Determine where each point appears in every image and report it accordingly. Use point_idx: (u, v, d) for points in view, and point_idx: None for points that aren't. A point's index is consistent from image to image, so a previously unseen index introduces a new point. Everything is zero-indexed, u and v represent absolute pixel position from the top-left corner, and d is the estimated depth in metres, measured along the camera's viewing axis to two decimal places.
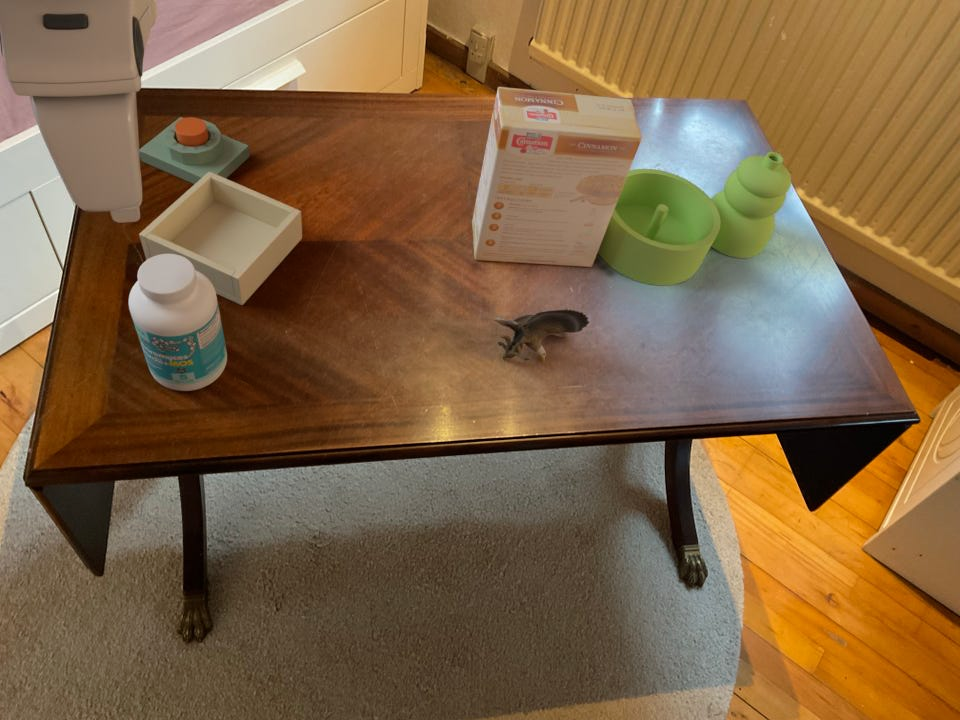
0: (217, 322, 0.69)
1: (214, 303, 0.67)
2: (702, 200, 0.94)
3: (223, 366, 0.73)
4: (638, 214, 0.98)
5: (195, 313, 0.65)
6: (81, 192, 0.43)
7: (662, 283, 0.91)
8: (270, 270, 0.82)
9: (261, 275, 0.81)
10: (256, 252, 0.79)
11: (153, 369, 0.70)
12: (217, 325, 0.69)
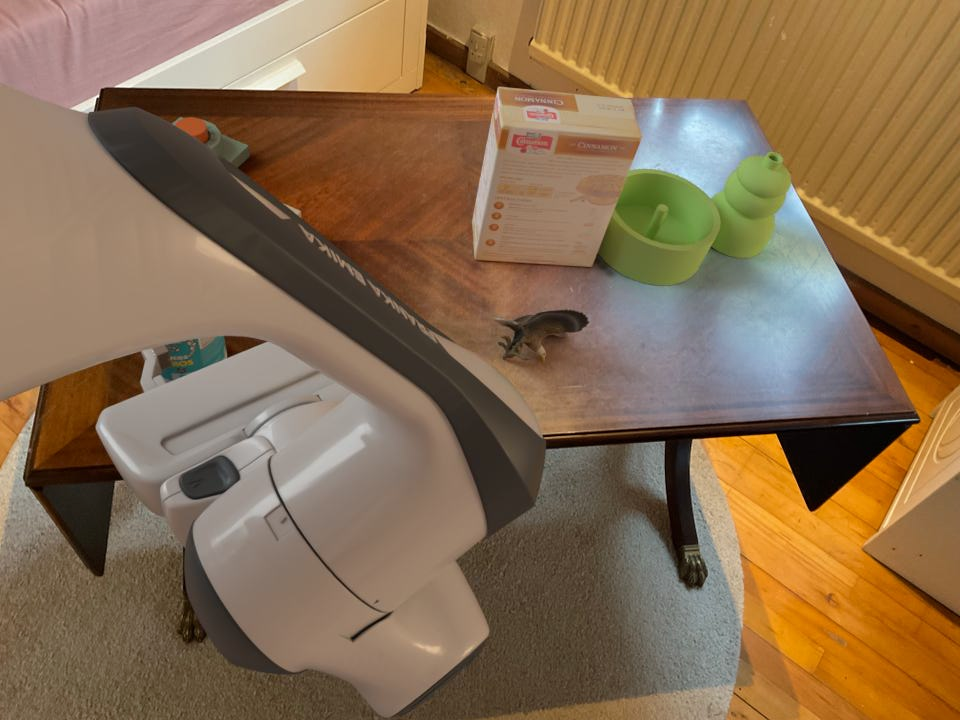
0: None
1: None
2: (702, 200, 0.94)
3: None
4: (638, 214, 0.98)
5: None
6: (103, 443, 0.45)
7: (662, 283, 0.91)
8: None
9: None
10: None
11: None
12: None
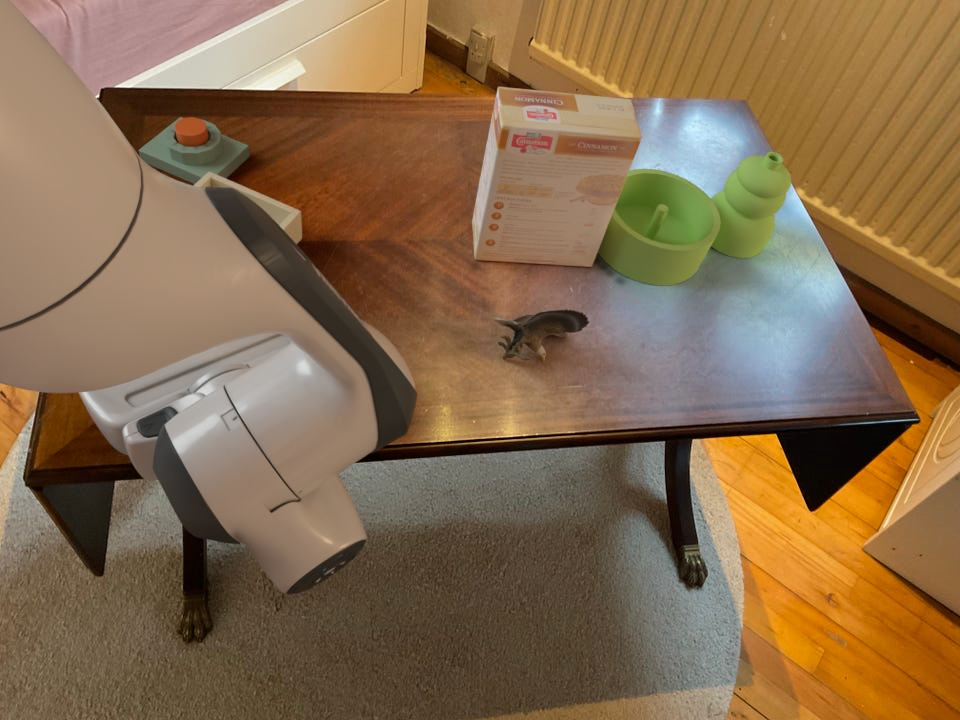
0: None
1: None
2: (702, 200, 0.94)
3: None
4: (638, 214, 0.98)
5: None
6: (81, 397, 0.60)
7: (662, 283, 0.91)
8: None
9: None
10: None
11: None
12: None
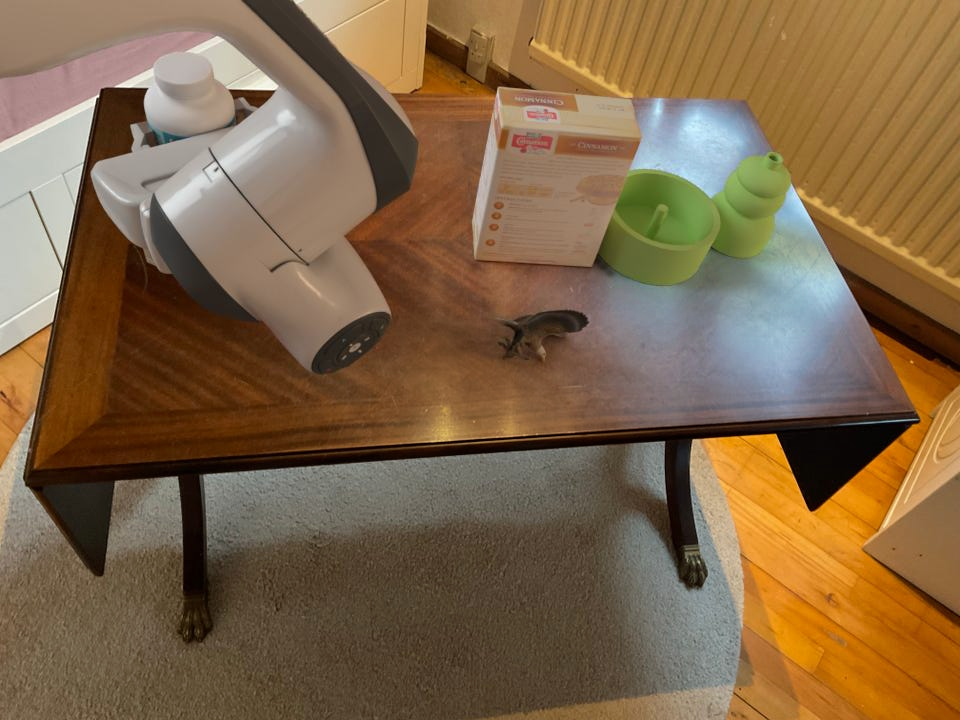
0: None
1: (232, 108, 0.65)
2: (702, 200, 0.94)
3: None
4: (638, 214, 0.98)
5: (213, 112, 0.63)
6: (96, 184, 0.58)
7: (662, 283, 0.91)
8: None
9: None
10: None
11: None
12: None
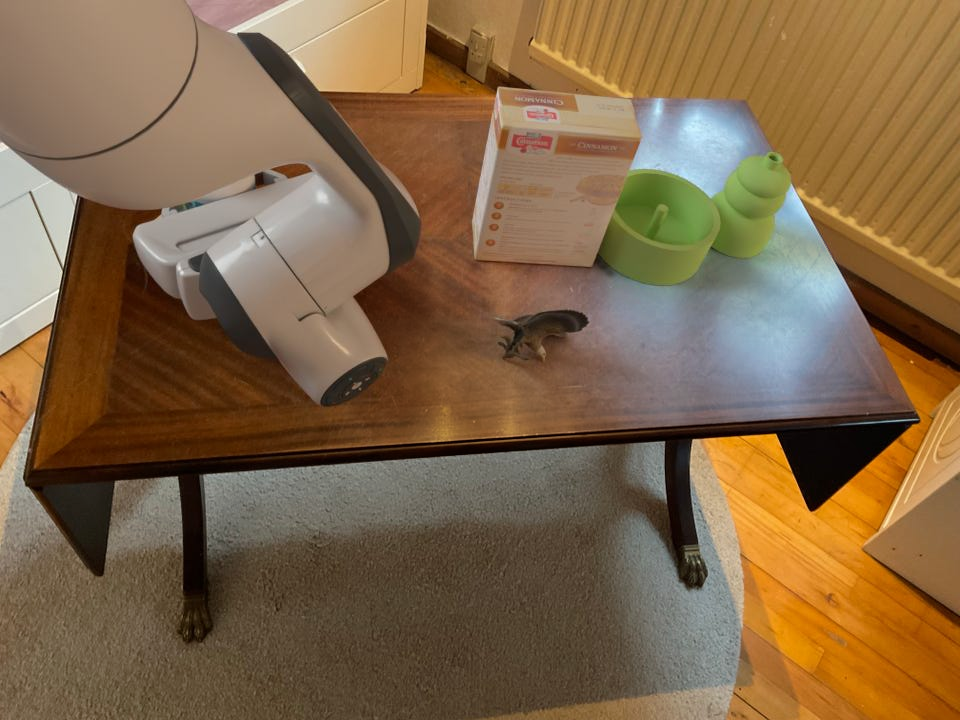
0: None
1: (253, 179, 0.76)
2: (702, 200, 0.94)
3: None
4: (638, 214, 0.98)
5: (237, 184, 0.74)
6: (138, 245, 0.69)
7: (662, 283, 0.91)
8: None
9: None
10: None
11: None
12: None
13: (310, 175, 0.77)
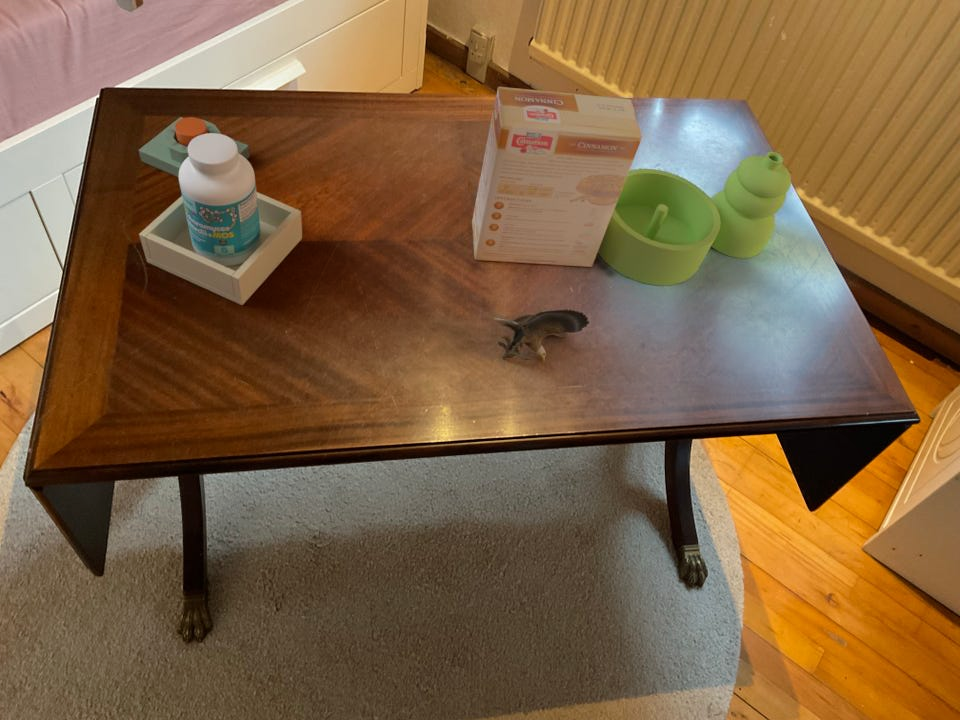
0: (255, 199, 0.78)
1: (253, 179, 0.76)
2: (702, 200, 0.94)
3: (258, 245, 0.82)
4: (638, 214, 0.98)
5: (237, 185, 0.74)
6: None
7: (662, 283, 0.91)
8: (270, 270, 0.82)
9: (261, 275, 0.81)
10: (256, 252, 0.79)
11: (197, 244, 0.79)
12: (255, 202, 0.78)
13: None
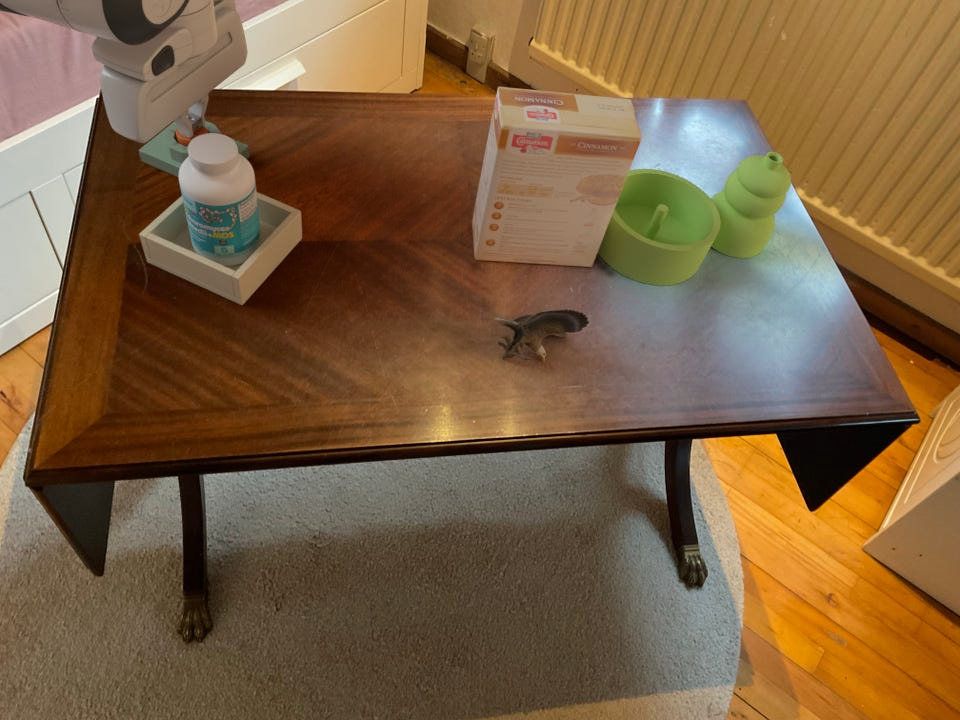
0: (255, 199, 0.78)
1: (253, 179, 0.76)
2: (702, 200, 0.94)
3: (258, 245, 0.82)
4: (638, 214, 0.98)
5: (237, 185, 0.74)
6: (112, 121, 0.78)
7: (662, 283, 0.91)
8: (270, 270, 0.82)
9: (261, 275, 0.81)
10: (256, 252, 0.79)
11: (197, 244, 0.79)
12: (255, 202, 0.78)
13: None
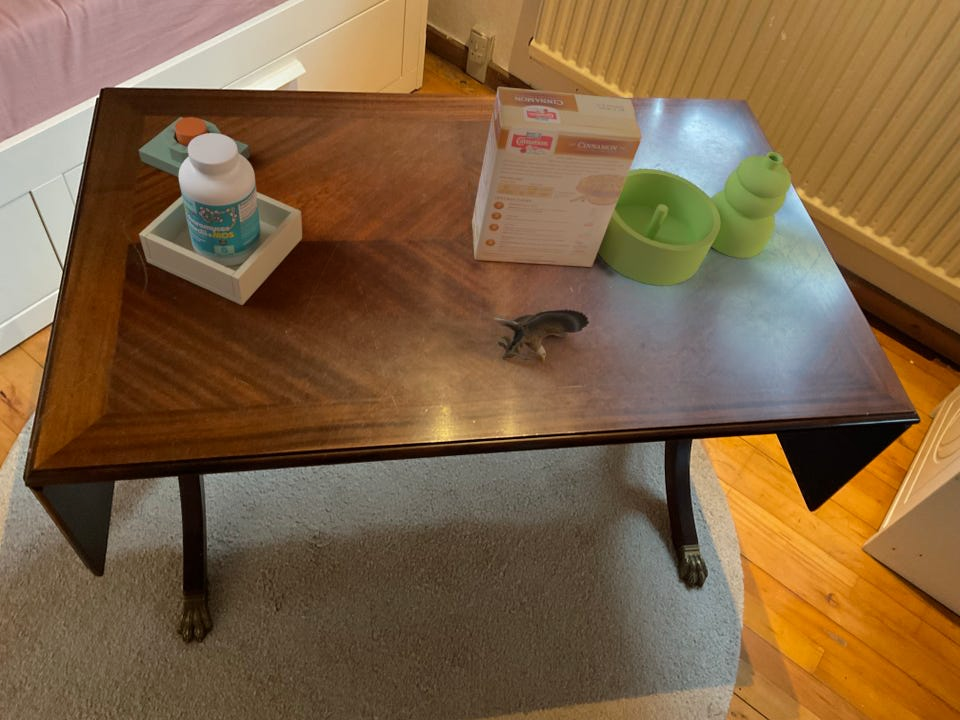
0: (255, 199, 0.78)
1: (253, 179, 0.76)
2: (702, 200, 0.94)
3: (258, 245, 0.82)
4: (638, 214, 0.98)
5: (237, 185, 0.74)
6: None
7: (662, 283, 0.91)
8: (270, 270, 0.82)
9: (261, 275, 0.81)
10: (256, 252, 0.79)
11: (197, 244, 0.79)
12: (255, 202, 0.78)
13: None
